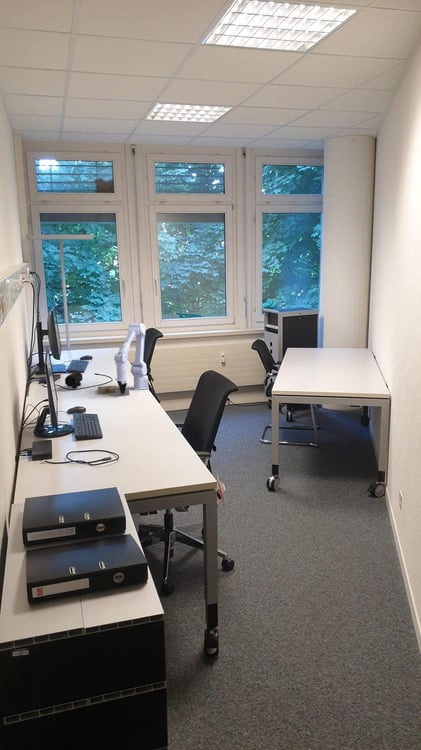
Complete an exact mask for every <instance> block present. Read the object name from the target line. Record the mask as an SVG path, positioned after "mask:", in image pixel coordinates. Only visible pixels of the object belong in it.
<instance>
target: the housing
mask: <svg viewBox="0 0 421 750" xmlns="http://www.w3.org/2000/svg"><path fill="white" fill-rule="evenodd" d="M114 394H115V395H116V397H124V396H130V387H129V386H128V385H126V388H125V393H124V394H121V391H120V387H119V386H117V387H116V390H115V393H114Z"/></svg>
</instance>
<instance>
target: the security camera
mask: <svg viewBox="0 0 421 750" xmlns="http://www.w3.org/2000/svg"><path fill="white" fill-rule="evenodd" d="M83 379H84V378H83V374H82V373H81V371H74V372H72V373H70V374H69V375H67V376H66V377H65V378H64V384H65V386H67V387H68V388H69V387H71V390H76V389H78V387H80V386H81V385H82V381H83Z"/></svg>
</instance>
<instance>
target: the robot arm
mask: <svg viewBox="0 0 421 750" xmlns="http://www.w3.org/2000/svg"><path fill="white" fill-rule="evenodd" d="M146 329H147V327H146V325H145V324H144V323H142V322H141V323H137V322H130V323H129V325H128V327H127V335H126V338H125V341H124V342H122V343H121V346H120V348H119V350H118V352H117V353H115V354H114V358H113V359H114V362H115V365H116V378H115V381H116V382H117V384H118V387H120V391H121V394H124V393H125V388H126V386H128V383H127V382H126V381H127V378H128V377H127V370H126V369H127V365H126V363H127V361H128V357H129V356H128V355H129V351H130V349H131V343H132V341H133V340H134V337H136V339H135V341H136V342H135V355H134V356H135V358H134V361H133V362H132V363H131V367H130V374H132V376H133V386H132V389H133V391H139V390H149V377H148V375H147V372H148V369H147V368H148V367H147V364H146V362H145V361H144V351H145V338H146Z"/></svg>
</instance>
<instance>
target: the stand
mask: <svg viewBox="0 0 421 750" xmlns="http://www.w3.org/2000/svg"><path fill="white" fill-rule="evenodd" d="M116 387H118V386H117V385H107V386H106V385H104V386H98V387H97V390H98V393H99V395H108V394H110V395H111V394H116V393H115V390H116Z"/></svg>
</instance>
